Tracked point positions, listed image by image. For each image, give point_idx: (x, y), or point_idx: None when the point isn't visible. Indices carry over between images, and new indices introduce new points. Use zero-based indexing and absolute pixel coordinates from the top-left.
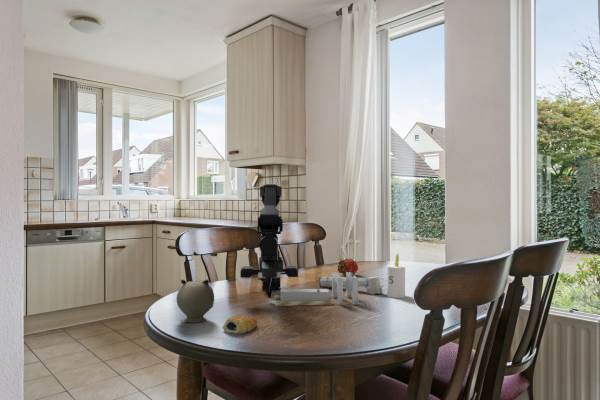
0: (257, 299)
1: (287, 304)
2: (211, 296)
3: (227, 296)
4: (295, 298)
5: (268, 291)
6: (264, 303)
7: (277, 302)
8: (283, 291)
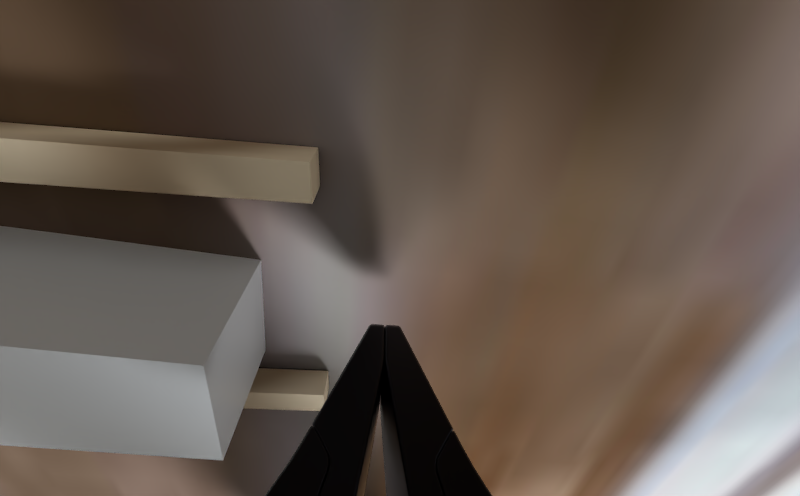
0: (478, 379)
1: (141, 140)
2: None
3: (667, 451)
4: (33, 269)
5: (396, 385)
6: (439, 265)
7: (279, 171)
8: (158, 372)
